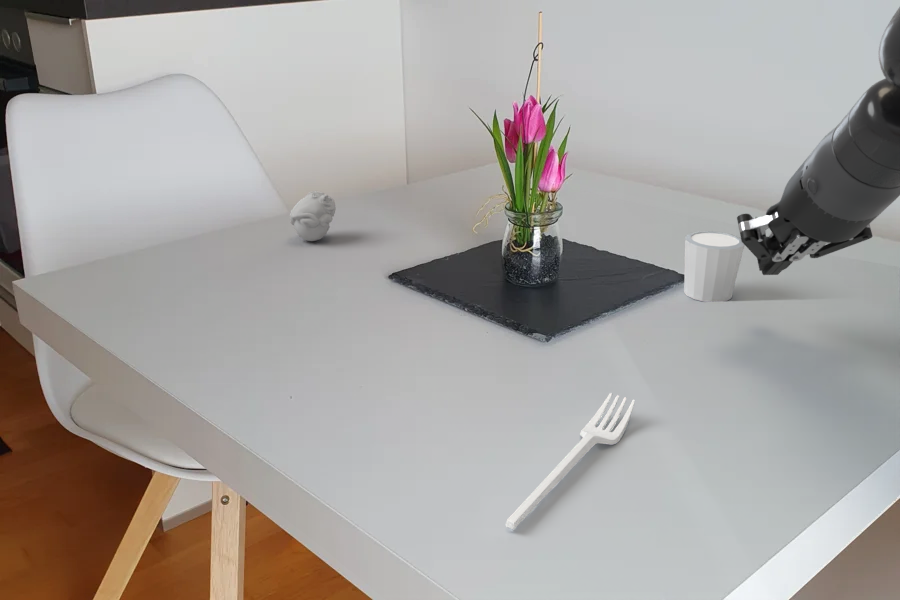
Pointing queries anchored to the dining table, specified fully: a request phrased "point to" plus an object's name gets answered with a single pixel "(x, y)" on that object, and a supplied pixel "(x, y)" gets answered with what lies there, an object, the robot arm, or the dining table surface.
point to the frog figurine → (313, 215)
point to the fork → (577, 454)
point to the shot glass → (711, 265)
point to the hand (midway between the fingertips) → (767, 266)
